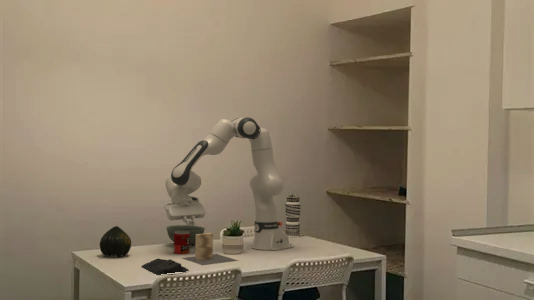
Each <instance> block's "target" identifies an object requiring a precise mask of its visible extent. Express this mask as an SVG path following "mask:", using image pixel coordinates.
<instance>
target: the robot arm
mask: <svg viewBox="0 0 534 300" xmlns="http://www.w3.org/2000/svg"><path fill="white" fill-rule="evenodd" d="M211 128H212V129H211V130H210V131H209V133H208V134H207V136H205V137H204V139H202V140H199V142H197V143H195V145H194V146H193V148H191V150H189V153H187V155H186V156H185V157H184V158H183V159H182V161H180V162H179V163H178V164H177V165H176V166H174V167H173V169H172V170H171V174H170V175H169V176H168V177H167V178H166V180H165V188H166V192H167V195H168V197H170V201H171V203H166V204H165V205H163V206H164V207H163V208H164V209H165V211H166V212H165V213H166V215H167V219H168V220H169V221H179V220H182V222H184V223H185V225H187V226H189V225H192V226H196V221H195V220H196V219H203V218H204V217H205V216H206V214H207V212H206V209H205V208H204V205H203V204H202V203H201V202H200V198H198V197H196V196H192V195H190V194H192V193H195V192H196V191H197V190H199V188H200V187H201V186H202V178H201V176H199V175H198V173H196V172H195V171H193V170H192V169H193V167H194V166H195V165H196V164H197V163H198V161H199V160H200V159H201V158H202V157H204V156H206V155H207V156H208V155H209V156H217V155H219V154H220V155H221V153H222V152H223V151H224V150H225V149H226V147H227V145H228V144H229V143H230V141H231V140H232V138H234V137H235V138H238V139H239V138H240V139H248V141H249V143H250V149H251V157H252V164H253V167H254V168H255V170H256V172H257V174H255V175H254V176H252V177H251V179H250V181H249V187H250V189H251V191H252V195H253V199H254V206H255V220H254V238H253V243H252V246H251V248H252V249H255V250H261V251H262V250H264V251H279V250H284V249H290V248H294V244H292V243H290V237H288V236H287V234H285V233H286V232H284V231H283V230H282V229H281V228H279V227H282V226H283V225H284V224H283V222H282V221H277V205H276V202H275V200H274V197H275V196H279V195H280V194H282V192H283V190H284V187H285V185H284V182H283V180H282V178H281V177H280V175H279V172H278V170H277V168H276V167H277V166H276V164H275V159H274V151H273V144H272V140H271V135H270V132H269V130H268V129H267V128H264V127H260V126H259V124H258V123H257V121H256V120H255V119H254V118H252V117H249V116H248V117H247V116H242V117H241V116H240V117H237V118H235V119H233V120H229V119H226V118H221V119H220V120H218V121H217V122H216V123H215V125H213V127H211ZM190 220H191V221H190Z"/></svg>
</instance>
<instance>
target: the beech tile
mask: <svg viewBox="0 0 534 300" xmlns="http://www.w3.org/2000/svg"><path fill="white" fill-rule="evenodd" d="M213 236H214V233H212V232H208V233H207V232H206V233H205V232H204V233H203V234H196V243H195V253H194V254H195V260H205V259H213V254H214V253H213V250H214V249H213V247H214V246H213V245H214V244H213V243H214V237H213Z"/></svg>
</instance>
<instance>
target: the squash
mask: <svg viewBox="0 0 534 300" xmlns="http://www.w3.org/2000/svg"><path fill="white" fill-rule="evenodd" d="M99 248H100V249H99V250H100V252H101V254H102V255H103V256H105V257H112V256H116V258H121V257H124V256H126V255H128V253H130V250H131V248H132V240H131V237H130V236H129V234H128V233H127V232H125V231H124V230H123V229H122V228H121V227H120V226H118V225H115V226H113V227H111V228H110V229H109V230H107V231H106V232H105V233H104V234H103V236H102V237H101V239H100V241H99Z"/></svg>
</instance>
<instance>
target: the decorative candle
mask: <svg viewBox="0 0 534 300" xmlns="http://www.w3.org/2000/svg"><path fill="white" fill-rule="evenodd" d="M284 206H286V207H285V217H286V221H285V232H284V233H285V234H287V236H288V238H300V234H301V233H300V232H301V231H300V228H301V227H300V226H301V224H300V217H301V216H300V215H301V203H300V195H299V194H298V193H288V195H287V196H286V203H285V205H284Z"/></svg>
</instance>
